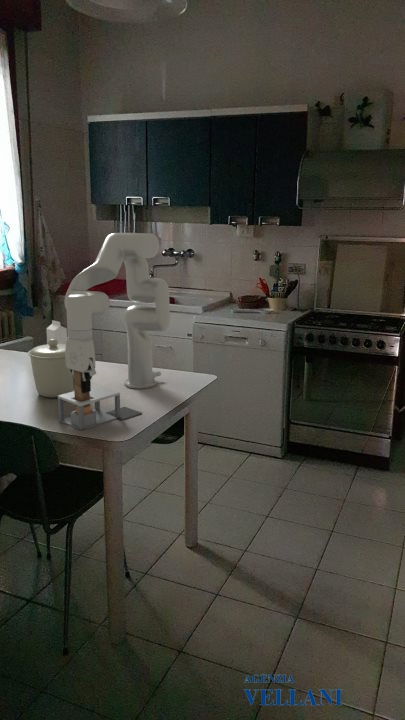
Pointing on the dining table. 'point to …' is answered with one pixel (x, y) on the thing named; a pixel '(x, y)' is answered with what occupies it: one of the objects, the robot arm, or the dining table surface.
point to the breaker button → (86, 410)
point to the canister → (51, 369)
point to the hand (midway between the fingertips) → (82, 390)
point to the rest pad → (125, 413)
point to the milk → (57, 332)
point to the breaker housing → (96, 414)
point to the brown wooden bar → (78, 391)
